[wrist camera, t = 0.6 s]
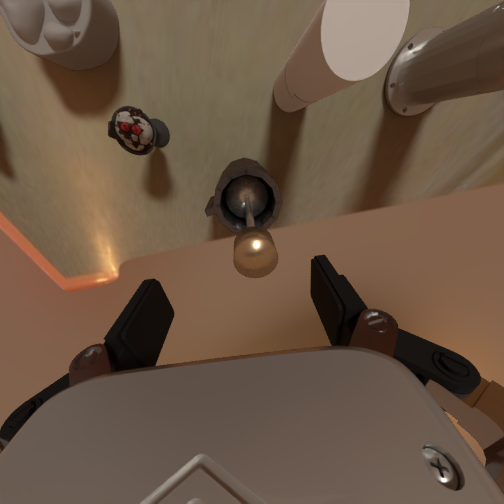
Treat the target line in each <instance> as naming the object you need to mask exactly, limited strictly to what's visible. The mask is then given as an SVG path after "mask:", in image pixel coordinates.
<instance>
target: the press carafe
mask: <svg viewBox="0 0 504 504" xmlns="http://www.w3.org/2000/svg"><path fill="white" fill-rule="evenodd" d="M240 176H253V177H256V178H257V179H259V180H260V181H261V182H262V183H263V184H264V186H265V187H266V190H267V193H268V201H267V205H266V207H265V209H264V210H263V211H262V212H261V213H260V214H259V215H257V216H255V217H254V223H255V226H257V227H261V228H264V229H265V230H266V229H267V228H268V227H269V226H270V225H271V224H273V223H274V222H275V221H276V220H277V218H278V214H279V211H280V208H281V205H282V199H281V195H280V191H279V186H278V184H277V183H276V182H275V181H274V179H273V178H272V177H271V176H270V175H269V174H268V172H267V171H266V170H265V169H264V168H263V167H262V166H261V165H260V164H259V163H258V162H257V161H255V160H251V159H247V158H241V159H238V160H235V161H232V162H231V163H230V164H229V165H228V166H227V168H226V169H225V170H224V171H223V173H222V175H221V177H220V180H219V182H218V184H217V186H216V189H215V196H212V197H211V198H210V200H209V202H208V204H207V206H206V208H205V213H206V215H207V217H208V216H211V215H214V214H217V216H218V219H219V221H220V223H222V224H223V225H224V226H225V227H227V228H228V229H229V230H230V231H232V232H233V233H239V232H240V231H241V230H243V229H245V228H247V221H246V218H241V217H239V216H237V215H235V214H234V213H233V212H231V210H230V209H229V207H228V205H227V202H226V192H227V189H228V187H229V185H230V184H231V182H232V181H233V180H235V179H236V178H238V177H240Z"/></svg>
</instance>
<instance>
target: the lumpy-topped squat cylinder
mask: <svg viewBox="0 0 504 504" xmlns="http://www.w3.org/2000/svg"><path fill="white" fill-rule="evenodd" d="M0 13H1V15H2V17H3V19H4V21H5V23H6V25H7V27H8V29H9V31H10V33H11V34H12V36H13V38H14V39H15V40H16V42H17V43H18V44H19V45H20V46H21V47H22V48H24V49H25V50H27V51H28V52H30V53H32V54H34V55H36V56H39V57H41V58H44V59H46V60H49V61H51V62H53V63H56V64H58V65H61V66H63V67H66V68H68V69H71V70H75V71H80V70H86V69H91V68H95V67H97V66H100V65H102V64H104V63H106V62H107V61H109V59H110V58H111V56H112V55H113V53H114V51H115V49H116V46H117V44H118V39H119V20H118V16H117V13H116V10H115V8H114V6H113V5H112V3H111V1H110V0H0Z"/></svg>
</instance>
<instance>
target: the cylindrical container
mask: <svg viewBox="0 0 504 504" xmlns="http://www.w3.org/2000/svg"><path fill="white" fill-rule="evenodd" d="M409 6H410V0H324V1H323V3H322V5H321V6H320V8H319V9H318V11H317V13H316V14H315V16H314V17H313V19H312V21H311V22H310V24H309V25H308V27H307V29H306V30H305V32H304V33H303V35H302V37H301V38H300V40H299V41H298V43H297V45H296V46H295V48H294V49H293V51H292V53H291V54H290V56H289V57H288V59H287V61H286V62H285V64H284V66H283V67H282V69H281V70H280V72H279V74H278V75H277V77H276V80H275V82H274V89H273V93H274V98H275V101H276V103H277V105H278V106H279V108H280V109H282V110H283V111H286V112H295V111H297V110H299V109H301V108H304V107H306V106H308V105H310V104H312V103H314V102H316V101H318V100H321V99H323V98H325V97H327V96H329V95H331V94H334V93H336V92H338V91H340V90H342V89H344V88H346V87H348V86H350V85H353V84H355V83H357V82H359V81H361V80H363V79H365V78H367V77H369V76H371V75H373V74H374V73H376V72H377V71H378V70H380V69H381V68H382V67H383V66H384V65H385V64H386V63H387V62H388V60H389V59H390V58H391V56H392V55H393V53H394V52H395V50H396V48H397V46H398V45H399V43H400V40H401V38H402V36H403V33H404V30H405V27H406V23H407V20H408V13H409Z"/></svg>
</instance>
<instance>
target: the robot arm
mask: <svg viewBox="0 0 504 504" xmlns="http://www.w3.org/2000/svg"><path fill="white" fill-rule="evenodd" d="M390 86H391V87H390ZM501 90H504V1H502V2H500V3H498V4H496V5H494V6H492V7H491V8H489V9H487V10H485V11H483V12H481V13H479V14H477V15H475V16H473V17H471V18H469V19H467V20H465V21H463V22H462V23H460V24H458V25H456V26H454V27H452V28H450V29H446V28H443V27H432V28H428V29H426V30H424V31H422V32H420V33H418V34H417V35H415V36H414V37H412V38H411V39H410V40H409V41H408V42H406V44H405V45H404V46H403V47H402V48H401V49H400V51H399V52H398V54H397V55H396V57H395V58H394V60H393V62H392V64H391V66H390V69H389V72H388V75H387V80H386V87H385V93H386V100H387V103H388V105H389V107H390V109H391V110H392V111H393V112H394V113H396V114H398V115H401V116H412V115H416V114H419V113H422V112H424V111H425V110H427V109H428V108H430V107H431V106H432V105H434V104H435V103H436V102H440V101H446V100H451V99H457V98H462V97H468V96H473V95H479V94H484V93H490V92H495V91H501ZM311 298H312V299H313V302H314V305H315V307H316V309H317V312H318V314H319V316H320V319H321V321H322V324H323V326H324V328H325V331H326V333H327V336H328V338H329V340H330V343H331V345H332V346H322V347H312V348H301V349H292V350H283V351H274V352H265V353H257V354H248V355H240V356H232V357H223V358H215V359H207V360H199V361H192V362H183V363H176V364H167V365H160V366H155V365H156V362H157V359H158V357H159V354H160V352H161V349H162V346H163V344H164V341H165V339H166V336H167V333H168V331H169V328H170V325H171V323H172V320H173V318H174V310H173V308H172V306H171V304H170V302H169V300H168V298H167V296H166V294H165V292H164V290H163V288H162V286H161V284H160V282H159V281H157V280H156V279H148V280H144V281H143V282H142V284H141V285H140V287H139V288H138V289H137V291H136V292H135V294H134V295H133V297H132V298H131V300H130V301H129V303H128V304H127V305H126V307H125V308H124V310H123V312H122V313H121V314H120V316H119V317H118V319H117V320H116V322H115V323H114V325H113V326H112V327H111V329H110V330H109V332H108V333H107V335H106V336H105V338H104V339H105V343H104V344H95V345H91V346H89V347H87V348H86V349H84V350H83V351H81V352H80V353H79V354H78V355H77V356H76V357H75V358H74V359H73V360H72V362H71V364H70V367H69V373H68V374H66V375H64V376H63V377H62V378H60V379H59V380H57V381H56V382H54V383H53V384H51V385H50V386H49V387H47V388H45V389H44V390H42V391H41V392H39V393H38V394H36V395H35V396H33V397H32V398H30V399H29V400H28V401H26V402H25V403H23V404H22V405H21V406H19V407H18V408H17V409H16V410H15V411H14V412H13V413H12V414H11V415H10V416H9V417H8V418H7V420H6V421H5V422H4V424H3V426H2V427H1V430H0V504H504V387H502V386H501V385H499V384H498V383H496V382H494V381H491V382H488V381H487V380H485V379H484V378H482V377H481V376H480V374H479V372H478V370H477V369H476V368H475V366H474V365H473V364H472V363H471V362H470V361H468V360H467V359H465V358H464V357H463V356H461V355H459V354H457V353H455V352H453V351H451V350H449V349H446V348H444V347H441V346H439V345H436V344H434V343H432V342H430V341H427V340H425V339H423V338H420V337H418V336H416V335H413V334H411V333H409V332H406V331H404V330H402V329H399V328H398V324H397V322H396V320H395V319H394V318H393V317H392V316H391V315H390V314H388V313H386V312H384V311H382V310H378V309H368V308H367V307H366V305H365V304H364V302H363V301H362V299H361V298H360V297H359V295H358V294H357V293H356V291H355V290H354V288H353V287H352V286H351V284H350V283H349V282H348V280H347V279H346V277H345V276H344V275H338V273H337V272H336V270H335V269H334V267H333V266H332V264H331V263H330V262H329V260H328V259H327V257H326V256H325V255H319V256H315V257H314V259H312V260H311ZM444 411H446V412H448V413H449V414H450V415H452V416H453V417H454V418H455V419H457V420H458V422H457V423H458V424H459V425H460V426H461V427H462V428H464V429H465V430H466V431H467V432H468V433H470V435H471V436H473V438H475V439H476V441H477V442H478V443H479V445H480V446H481V448H482V449H483V451H484V454H485V457H486V464H485V467H484V466H483V464H482V463H481V461H480V460H479V459H478V457H477V456H476V454H475V453H474V451H473V450H472V449H471V447H470V446H469V444H468V443H467V442H466V440H465V439H464V438H463V436H462V435H461V434H460V432H459V431H458V429H457V428H456V427H455V425H454V424H453V422H452V421H451V420H450V418H449V417H448V416H447V414H446V413H445V412H444ZM422 449H423V450H422Z"/></svg>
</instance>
